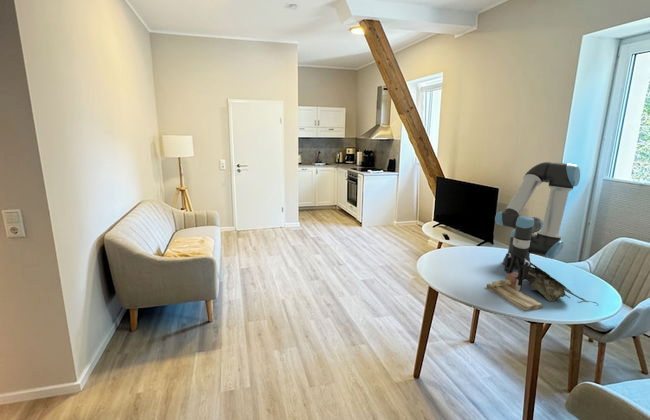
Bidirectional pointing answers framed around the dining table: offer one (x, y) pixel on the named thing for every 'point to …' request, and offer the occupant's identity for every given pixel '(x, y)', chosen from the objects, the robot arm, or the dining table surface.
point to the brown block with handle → (508, 280)
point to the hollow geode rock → (545, 284)
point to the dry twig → (577, 296)
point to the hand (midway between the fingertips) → (512, 287)
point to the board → (515, 297)
